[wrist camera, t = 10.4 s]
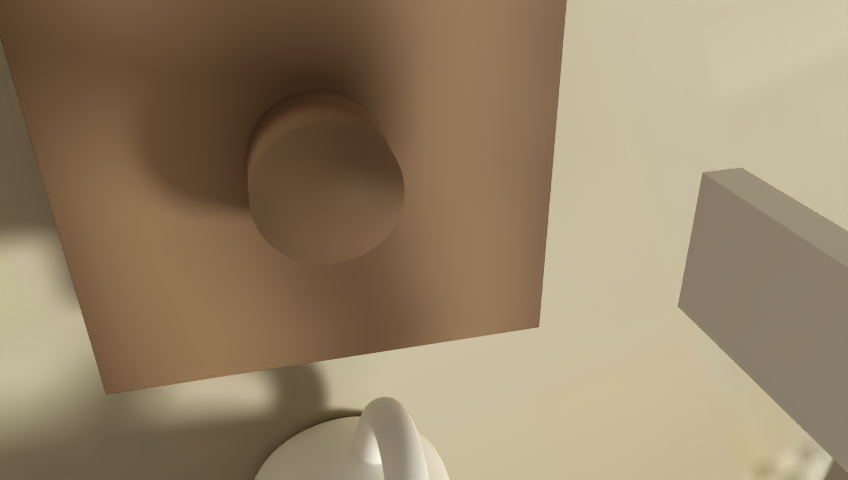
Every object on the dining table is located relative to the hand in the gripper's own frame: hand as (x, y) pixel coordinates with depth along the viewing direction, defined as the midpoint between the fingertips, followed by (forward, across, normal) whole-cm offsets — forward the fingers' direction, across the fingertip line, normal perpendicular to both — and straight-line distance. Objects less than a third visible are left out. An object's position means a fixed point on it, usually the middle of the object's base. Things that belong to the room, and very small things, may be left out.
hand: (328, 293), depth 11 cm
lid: (+8, 0, 0) cm, 8 cm away
